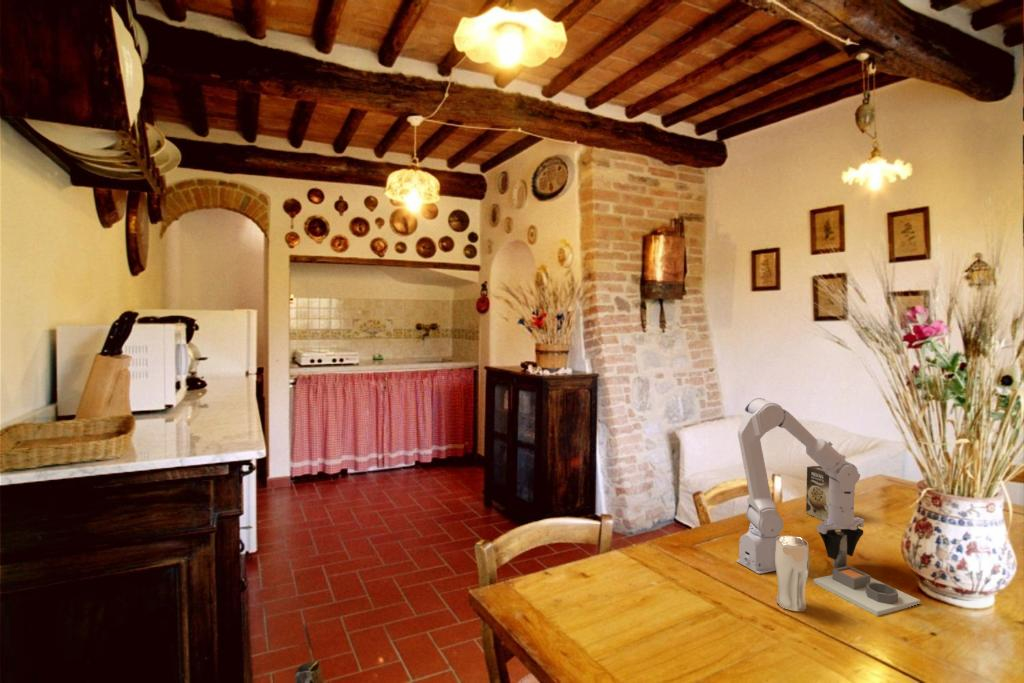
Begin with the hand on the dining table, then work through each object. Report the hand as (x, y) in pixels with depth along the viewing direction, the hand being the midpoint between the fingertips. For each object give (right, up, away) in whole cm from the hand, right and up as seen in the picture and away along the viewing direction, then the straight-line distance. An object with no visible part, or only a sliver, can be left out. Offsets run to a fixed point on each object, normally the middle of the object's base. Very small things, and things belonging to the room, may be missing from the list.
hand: (840, 556), depth 141 cm
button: (-4, -1, -10) cm, 11 cm away
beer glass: (-23, -4, -19) cm, 30 cm away
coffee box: (+17, -2, +36) cm, 40 cm away
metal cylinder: (0, -3, 0) cm, 3 cm away
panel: (-2, -3, -14) cm, 14 cm away
